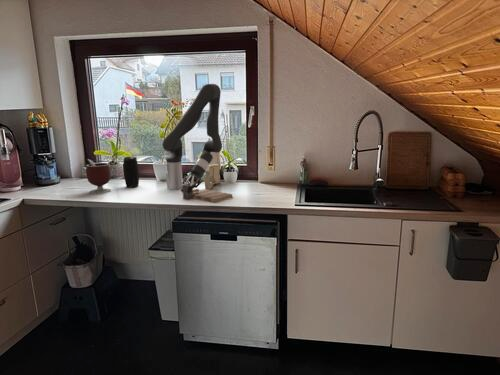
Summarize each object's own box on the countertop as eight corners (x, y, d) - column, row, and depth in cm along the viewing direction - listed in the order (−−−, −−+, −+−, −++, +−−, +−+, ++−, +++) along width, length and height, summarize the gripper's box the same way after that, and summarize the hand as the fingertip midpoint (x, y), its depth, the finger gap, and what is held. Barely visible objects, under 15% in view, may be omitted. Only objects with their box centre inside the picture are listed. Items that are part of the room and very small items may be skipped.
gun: (209, 190, 224) (209, 166, 222) (204, 189, 225) (203, 166, 223) (220, 185, 248) (220, 163, 246) (215, 185, 249) (215, 163, 247)
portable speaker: (125, 185, 240) (123, 156, 236) (140, 184, 242) (138, 156, 238) (124, 188, 232) (121, 158, 228) (139, 187, 234) (137, 157, 230)
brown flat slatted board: (187, 196, 207) (187, 193, 207) (205, 192, 218) (205, 189, 217) (215, 202, 194) (215, 199, 193) (232, 197, 204) (232, 194, 204)
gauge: (183, 198, 203) (182, 184, 202) (196, 195, 211) (195, 182, 209) (187, 199, 201) (187, 185, 199) (200, 196, 208) (200, 182, 207)
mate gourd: (117, 190, 226) (114, 159, 222) (98, 195, 214) (95, 162, 210) (100, 188, 233) (97, 157, 229) (81, 192, 222) (77, 160, 217)
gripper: (188, 163, 210) (172, 186, 203) (205, 165, 201) (189, 190, 194) (195, 170, 215) (180, 194, 208) (212, 173, 206) (197, 197, 199)
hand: (185, 192), depth 201 cm, fingers closed on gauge, 4 cm apart
